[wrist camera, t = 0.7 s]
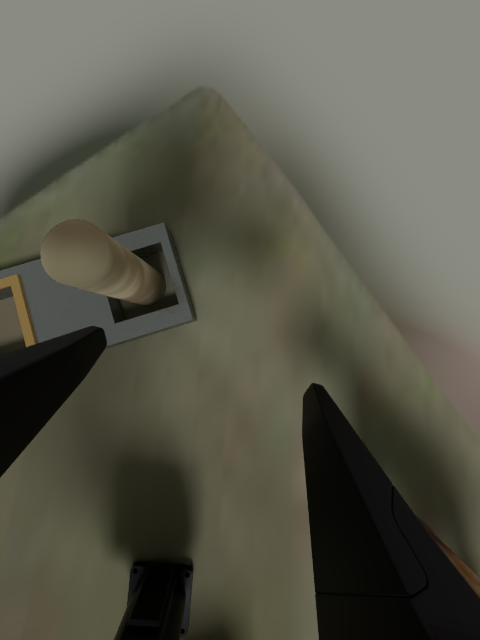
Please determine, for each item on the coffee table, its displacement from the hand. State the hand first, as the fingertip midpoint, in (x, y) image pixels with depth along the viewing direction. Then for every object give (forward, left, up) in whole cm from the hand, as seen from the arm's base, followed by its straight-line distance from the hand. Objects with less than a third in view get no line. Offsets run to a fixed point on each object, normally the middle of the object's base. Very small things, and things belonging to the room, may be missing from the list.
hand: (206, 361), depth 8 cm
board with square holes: (+3, +17, -14) cm, 22 cm away
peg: (+6, +10, -14) cm, 18 cm away
